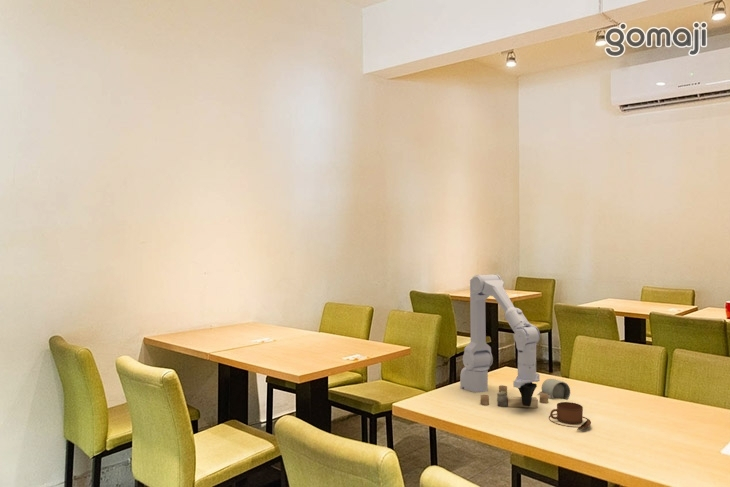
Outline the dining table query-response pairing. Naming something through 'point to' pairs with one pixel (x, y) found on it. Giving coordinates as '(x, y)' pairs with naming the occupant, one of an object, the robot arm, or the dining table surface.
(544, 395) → the small brown blocks set
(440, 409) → the dining table surface
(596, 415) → the dining table surface
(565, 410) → the cup and saucer
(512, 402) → the leg bar
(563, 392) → the ceramic mug
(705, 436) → the dining table surface
